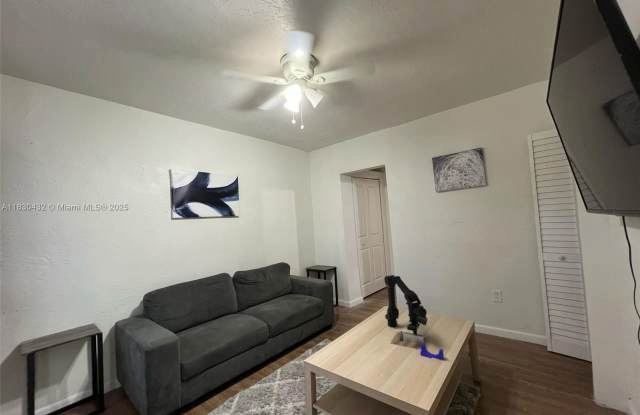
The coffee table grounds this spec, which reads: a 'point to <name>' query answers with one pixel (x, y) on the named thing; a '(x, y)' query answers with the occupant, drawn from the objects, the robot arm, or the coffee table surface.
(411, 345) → the hinge board
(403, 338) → the steel leaf
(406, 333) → the block
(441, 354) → the cable clip
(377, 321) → the coffee table surface
